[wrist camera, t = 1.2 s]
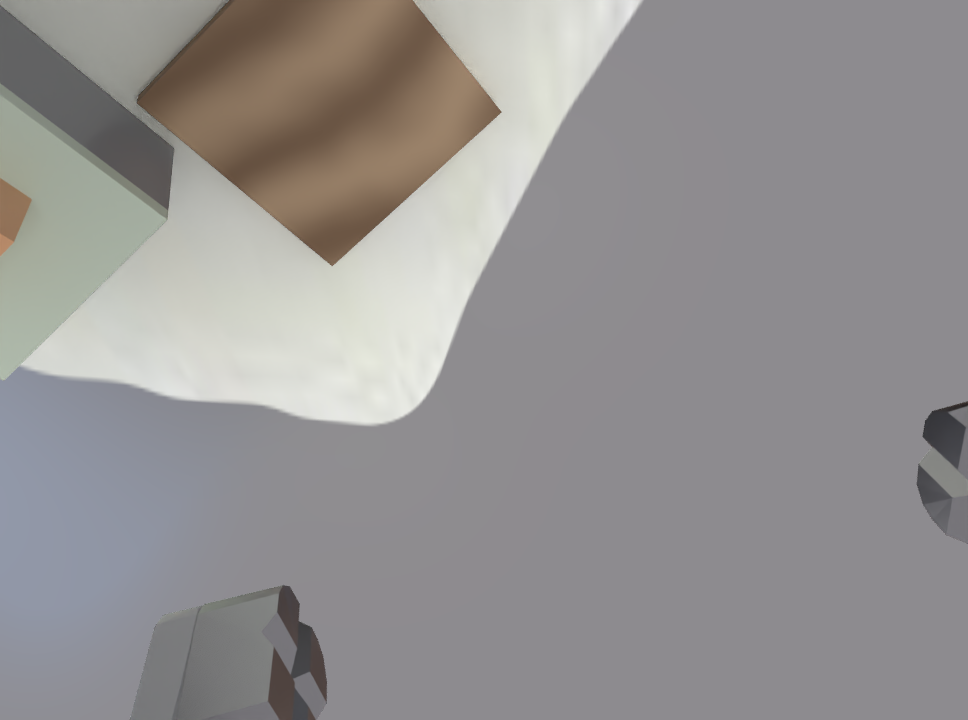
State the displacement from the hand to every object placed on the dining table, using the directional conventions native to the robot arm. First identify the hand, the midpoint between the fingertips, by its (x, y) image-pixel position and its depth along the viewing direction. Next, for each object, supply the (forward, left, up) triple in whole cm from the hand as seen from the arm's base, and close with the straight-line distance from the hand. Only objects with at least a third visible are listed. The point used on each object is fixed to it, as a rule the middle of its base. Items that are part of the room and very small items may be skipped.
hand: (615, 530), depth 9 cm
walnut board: (+5, -4, -38) cm, 38 cm away
